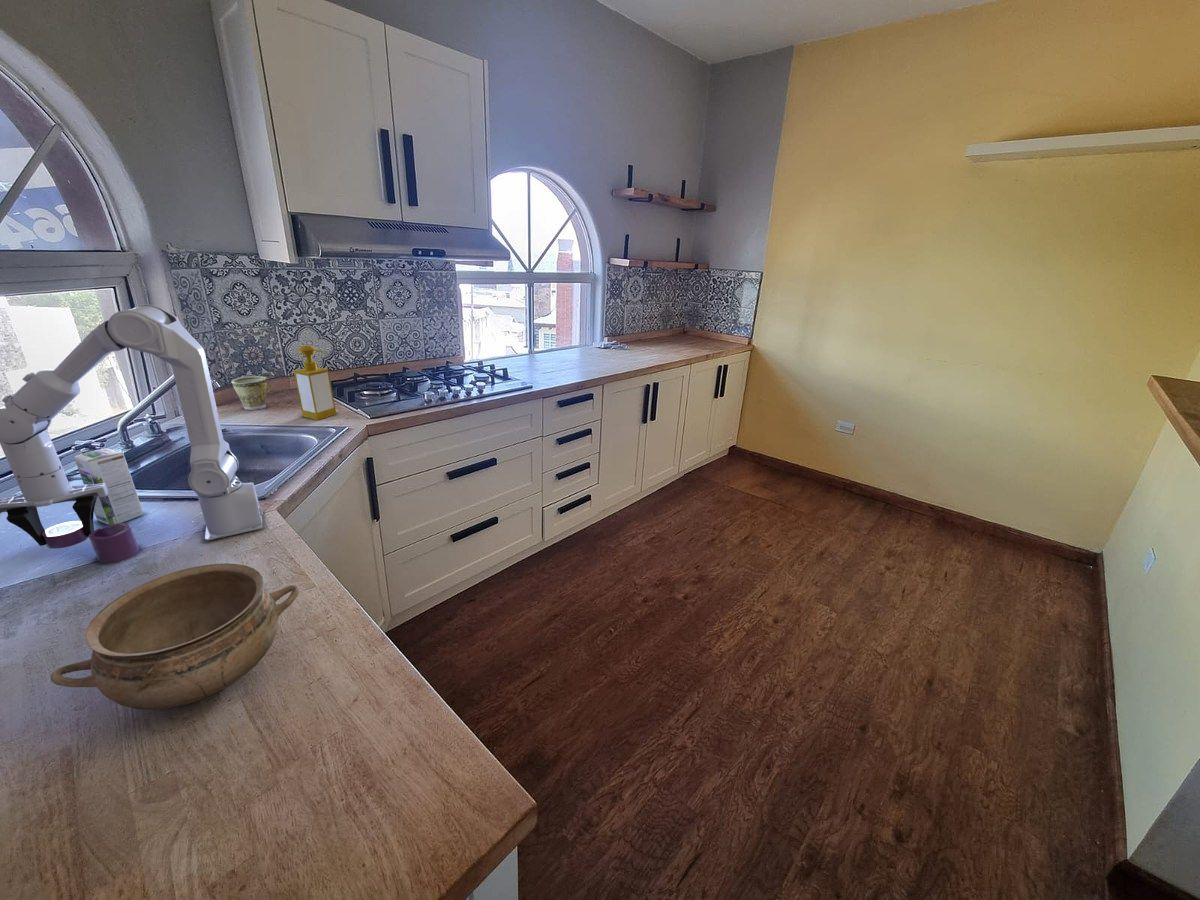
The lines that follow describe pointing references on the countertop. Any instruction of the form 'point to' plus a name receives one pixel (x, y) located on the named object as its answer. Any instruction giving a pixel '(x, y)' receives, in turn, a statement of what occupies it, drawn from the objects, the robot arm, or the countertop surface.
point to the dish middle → (111, 537)
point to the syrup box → (110, 485)
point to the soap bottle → (314, 387)
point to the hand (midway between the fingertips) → (67, 538)
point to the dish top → (64, 535)
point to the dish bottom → (117, 553)
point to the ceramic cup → (251, 391)
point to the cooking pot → (180, 637)
